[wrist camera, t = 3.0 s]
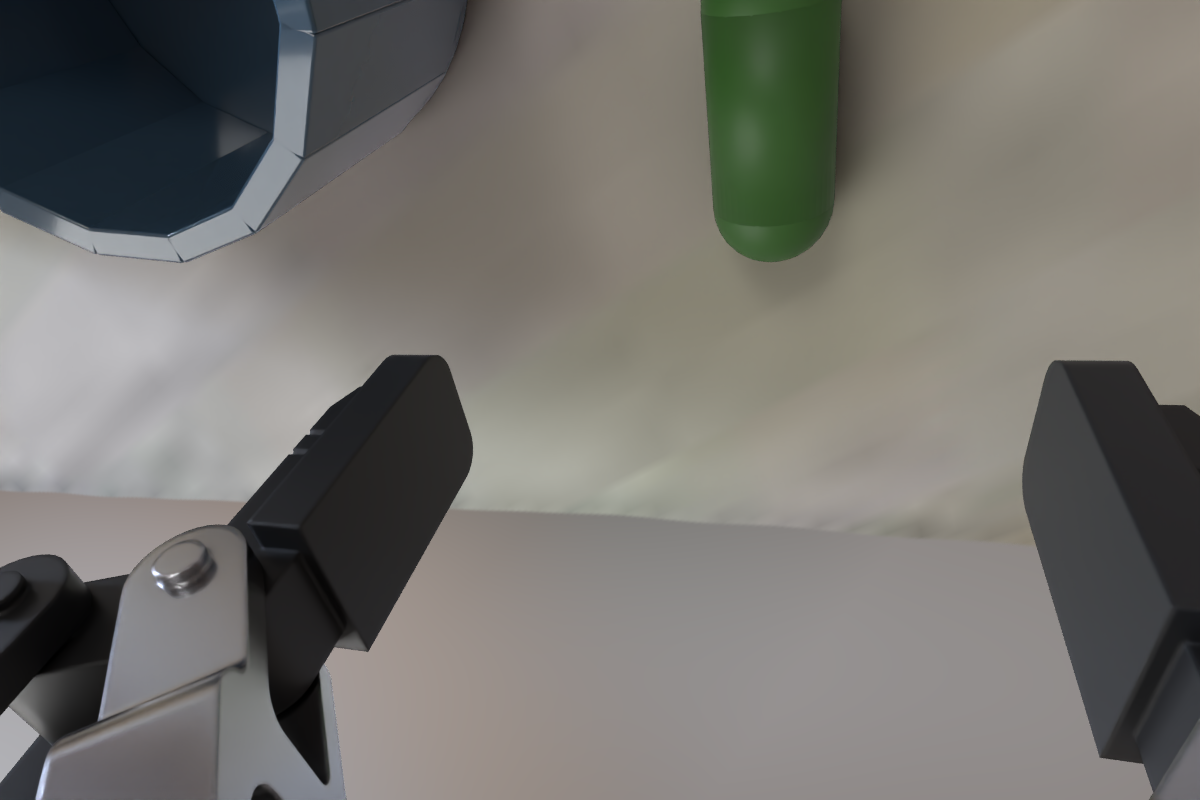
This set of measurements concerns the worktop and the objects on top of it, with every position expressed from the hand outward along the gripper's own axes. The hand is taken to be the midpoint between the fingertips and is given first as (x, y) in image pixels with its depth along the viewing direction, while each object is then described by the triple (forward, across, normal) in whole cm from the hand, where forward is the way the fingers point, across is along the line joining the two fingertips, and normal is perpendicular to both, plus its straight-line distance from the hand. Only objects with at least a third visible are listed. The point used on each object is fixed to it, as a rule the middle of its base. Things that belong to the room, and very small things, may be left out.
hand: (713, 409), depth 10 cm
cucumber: (+14, 0, 0) cm, 14 cm away
